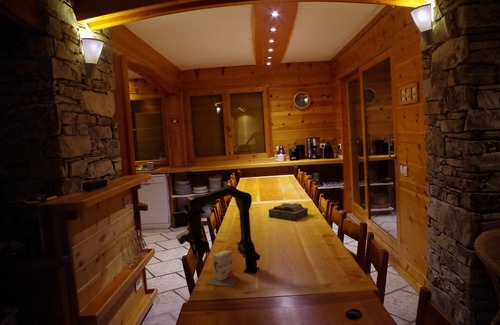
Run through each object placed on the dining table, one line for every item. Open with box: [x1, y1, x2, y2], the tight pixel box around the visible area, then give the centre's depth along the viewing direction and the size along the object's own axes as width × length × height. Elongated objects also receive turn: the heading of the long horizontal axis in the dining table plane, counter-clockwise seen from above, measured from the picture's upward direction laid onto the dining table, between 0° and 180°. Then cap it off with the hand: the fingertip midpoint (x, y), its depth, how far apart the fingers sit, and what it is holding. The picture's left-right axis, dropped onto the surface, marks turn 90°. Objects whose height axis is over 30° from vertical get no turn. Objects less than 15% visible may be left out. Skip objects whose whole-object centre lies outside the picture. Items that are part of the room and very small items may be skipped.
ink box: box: [212, 249, 234, 281], centre depth 165 cm, size 9×5×12 cm, turn 141°
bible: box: [268, 202, 309, 222], centre depth 266 cm, size 23×27×10 cm
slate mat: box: [206, 278, 238, 288], centre depth 159 cm, size 6×13×1 cm, turn 73°
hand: (197, 258), depth 155 cm, fingers open, 9 cm apart
